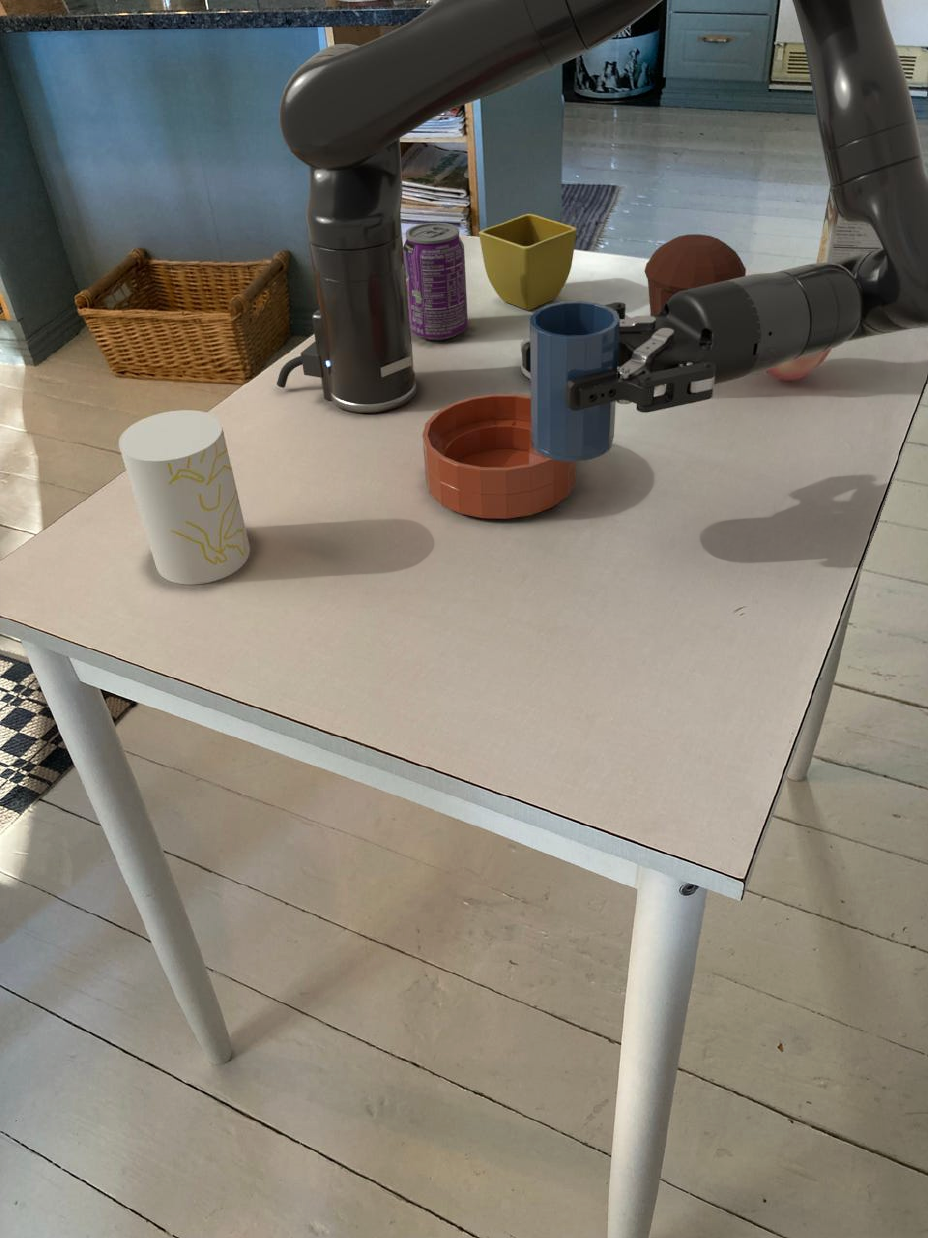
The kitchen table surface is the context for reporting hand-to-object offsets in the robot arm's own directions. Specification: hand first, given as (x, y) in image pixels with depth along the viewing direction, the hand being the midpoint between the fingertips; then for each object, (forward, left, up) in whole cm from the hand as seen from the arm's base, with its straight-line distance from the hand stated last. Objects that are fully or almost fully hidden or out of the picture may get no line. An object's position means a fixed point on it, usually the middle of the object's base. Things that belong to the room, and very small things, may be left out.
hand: (546, 376), depth 74 cm
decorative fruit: (+13, +39, -17) cm, 45 cm away
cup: (-28, -10, -17) cm, 34 cm away
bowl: (-8, +10, -17) cm, 21 cm away
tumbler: (+2, +2, -6) cm, 6 cm away
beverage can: (-28, +39, -17) cm, 51 cm away
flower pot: (-21, +51, -17) cm, 58 cm away
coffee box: (+16, +58, -17) cm, 63 cm away
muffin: (0, +50, -17) cm, 53 cm away
